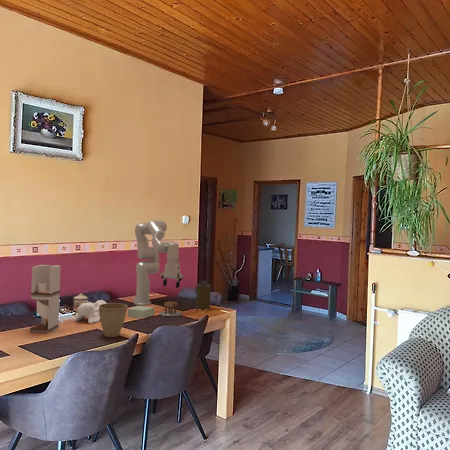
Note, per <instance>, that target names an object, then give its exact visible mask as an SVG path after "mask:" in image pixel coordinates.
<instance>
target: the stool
mask: <svg viewBox="0 0 450 450" xmlns="http://www.w3.org/2000/svg"><path fill="white" fill-rule="evenodd" d="M177 306H178V302H176V301H170V300H169V301H166V302H164V311H165V313H167V311H168V312H170V311H171V314H173V311H174V313H176V311H177Z"/></svg>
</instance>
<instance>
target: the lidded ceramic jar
mask: <svg viewBox="0 0 450 450" xmlns="http://www.w3.org/2000/svg"><path fill="white" fill-rule="evenodd" d="M89 302H90V301H88V296H86V295H83V293H79V294H78V295H76V296H74V297H73V309H72V310H74V311H76V312H75V313H78V312H77V311H78V310H77V309H78V307H79V306H80V305H81V304H82V303H89ZM74 311H73V312H74Z"/></svg>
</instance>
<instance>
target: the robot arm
mask: <svg viewBox="0 0 450 450" xmlns="http://www.w3.org/2000/svg"><path fill="white" fill-rule="evenodd" d="M167 228H168V226H167V223H166V222H165V221H163V220H157V219H156V220H154V219H151V220H150V221H148V222H147V223H146V222H141V223H137V224H136V226H135V228H134V234H135V239H136V249H137V251H136V252H137V258H138V260H139V259H140V260H143V261H138V262H137V263H136V266H135V270H136V293H135V294H136V295H135V296H133V297H132V298H131V300H132V301H133V304H134V305H135V306H148V305H151V304H152V302H151V301H150V287H151V286H150V285H151V284H150V283H151V282H150V281H151V280H150V277H149V276H148V275H151V274H153V275H155V274H157V273H159V272H160V254H159V253H161V254H162V253H165V254H166V263H165V264H164V265H165V266H164V271H162V272H160V277H161V279H162V280H163V281H162V282H163V283H162V285H163V287H167V285H168V284H167V282H168V280H167V279H173V280H174V279H175V281H176V282H175V288H176V289H178V288H180V286H181V285H180V282H181V281H182V280H183V279H184V275H183V274H182V273H181V267H180V262H181V261H180V259H179V256H180V255H179V252H180V251H179V250H180V245H179V243H177V242H174V241H161V240H163V238H165V235H166V233H165V232H166V231H167ZM146 235H151V236H152V238H151V245H152V246H150V244H149V239H148V237H147V236H146ZM146 260H147V261H146Z"/></svg>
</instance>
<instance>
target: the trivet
mask: <svg viewBox="0 0 450 450" xmlns="http://www.w3.org/2000/svg"><path fill="white" fill-rule="evenodd" d="M158 315H159V316H160V315H162V316H161V317H164V316H178V317H180V315H181V316H182V315H183V313H182V311H178V310H176V313H174V310H173V314H171V310H170V312H168V310H167V313H165V310H162V311H159V313H158Z"/></svg>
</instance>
